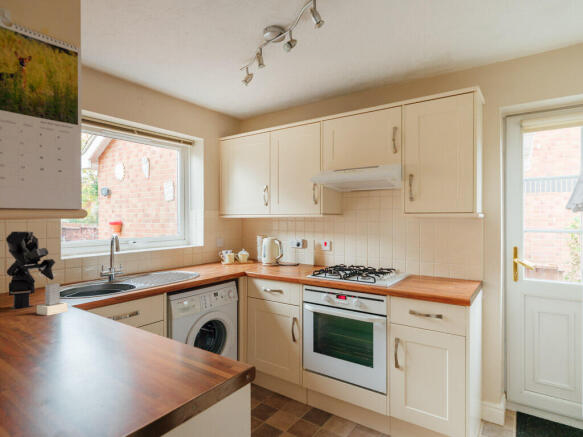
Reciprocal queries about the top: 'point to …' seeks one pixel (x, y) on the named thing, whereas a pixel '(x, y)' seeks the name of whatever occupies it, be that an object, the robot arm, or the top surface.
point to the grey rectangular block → (52, 294)
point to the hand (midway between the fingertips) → (43, 280)
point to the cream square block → (52, 309)
